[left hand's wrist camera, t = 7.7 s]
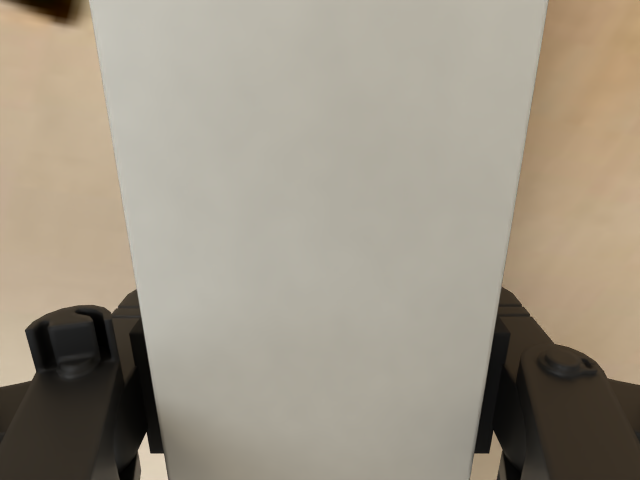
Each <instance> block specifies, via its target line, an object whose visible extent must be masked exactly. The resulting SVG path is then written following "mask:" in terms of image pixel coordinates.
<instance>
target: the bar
mask: <svg viewBox="0 0 640 480" xmlns="http://www.w3.org/2000/svg"><path fill="white" fill-rule="evenodd" d="M89 3H90V9H91V15H92V21H93V27H94V33H95V39H96V45H97V51H98V57H99V63H100V69H101V75H102V82H103V88H104V94H105V100H106V106H107V112H108V118H109V124H110V130H111V136H112V142H113V148H114V154H115V160H116V166H117V172H118V178H119V184H120V190H121V196H122V202H123V208H124V214H125V221H126V227H127V233H128V239H129V245H130V251H131V257H132V263H133V269H134V275H135V281H136V287H137V293H138V299H139V305H140V311H141V317H142V323H143V329H144V335H145V341H146V347H147V353H148V360H149V366H150V372H151V378H152V384H153V390H154V396H155V402H156V408H157V414H158V420H159V426H160V432H161V438H162V444H163V450H164V456H165V462H166V468H167V474H168V480H470V475H471V469H472V463H473V457H474V451H475V445H476V438H477V432H478V426H479V420H480V414H481V408H482V402H483V396H484V390H485V384H486V378H487V372H488V365H489V359H490V353H491V347H492V341H493V335H494V329H495V323H496V317H497V311H498V305H499V299H500V292H501V286H502V280H503V274H504V268H505V262H506V256H507V250H508V244H509V238H510V232H511V226H512V219H513V213H514V207H515V201H516V195H517V189H518V183H519V177H520V171H521V165H522V159H523V153H524V146H525V140H526V134H527V128H528V122H529V116H530V110H531V104H532V98H533V92H534V86H535V80H536V73H537V67H538V61H539V55H540V49H541V43H542V37H543V31H544V25H545V19H546V13H547V6H548V0H89Z"/></svg>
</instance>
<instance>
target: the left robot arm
mask: <svg viewBox="0 0 640 480" xmlns="http://www.w3.org/2000/svg"><path fill="white" fill-rule="evenodd" d="M25 332H26V336H27V340H28V343H29V347H30V350H31V354H32V358H33V361H34V365H35V368H36V374H35V376H34V378H33V380H32V381H28V382H24V383H19V384H14V385H9V386H4V387H0V480H140V475H141V467H140V460H139V455H138V449H139V447H140V445H141V442H142V440H143V438H144V436H145V434H146V432H147V436H148V442H149V447H150V453H164V450H163V444H162V438H161V432H160V426H159V420H158V414H157V408H156V402H155V396H154V390H153V384H152V378H151V372H150V366H149V360H148V353H147V347H146V341H145V335H144V329H143V323H142V317H141V311H140V305H139V299H138V293H137V289H136V290H135V291H133V292H131V293H130V294H128V295H127V296H126V297H125V299H124V300H123V301H122V302H121V303H120V305H119V306H118V309H116V310H115V311H114V312H113V313H112V314H111V312H110V311H108V310H107V309H106V308H104V307H100V306H95V305H78V306H73V307H68V308H63V309H60V310H57V311H54V312H51V313H48V314H46V315H44V316H42V317H41V318H39V319H37V320H35V321H34V322H32V323H31V324H30V325H29V326H28V328H27V329H26V330H25ZM493 430H494V432H495V434H496V436H497V439H498V441H499V443H500V445H501V447H502V449H503V450H502V455H501V460H500V465H499V470H498V476H497V480H640V385H636V384H631V383H626V382H621V381H616V380H612V379H608V378H607V377H606V375H605V373H604V371H603V370H602V368H601V367H600V366H599V365H598V364H597V362H596V361H594V360H593V359H591V358H590V357H588V356H587V355H585V354H584V353H581V352H579V351H576V350H574V349H572V348H569V347H565V346H561V345H557V344H554V343H553V342H552V340H551V339H550V338H549V337H548V336H547V334H546V333H545V332H544V331H543V330H542V328H541V327H540V326H539V325H538V324H537V322H536V321H535V320H534V319H533V317H530V314H529V313H528V311H527V310H526V309H525V308H524V307H522V304H521V303H520V302H519V301H518V299H517V298H516V297H515V296H514V295H513V293H511V292H510V291H508V290H506V289H505V288H503V287H501V292H500V299H499V305H498V311H497V317H496V323H495V329H494V335H493V341H492V347H491V353H490V359H489V365H488V372H487V378H486V384H485V390H484V396H483V402H482V408H481V414H480V420H479V426H478V432H477V438H476V445H475V451H474V453H489V451H490V446H491V440H492V435H493Z"/></svg>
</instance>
